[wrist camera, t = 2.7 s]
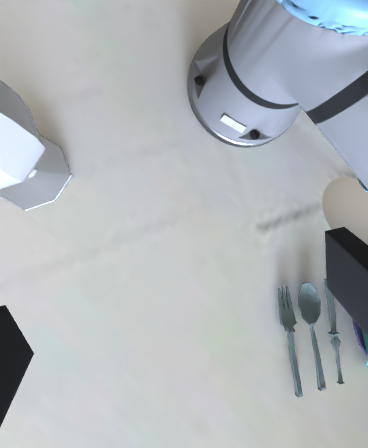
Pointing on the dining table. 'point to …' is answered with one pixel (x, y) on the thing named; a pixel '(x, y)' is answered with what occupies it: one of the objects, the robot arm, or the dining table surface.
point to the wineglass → (27, 157)
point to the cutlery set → (310, 314)
